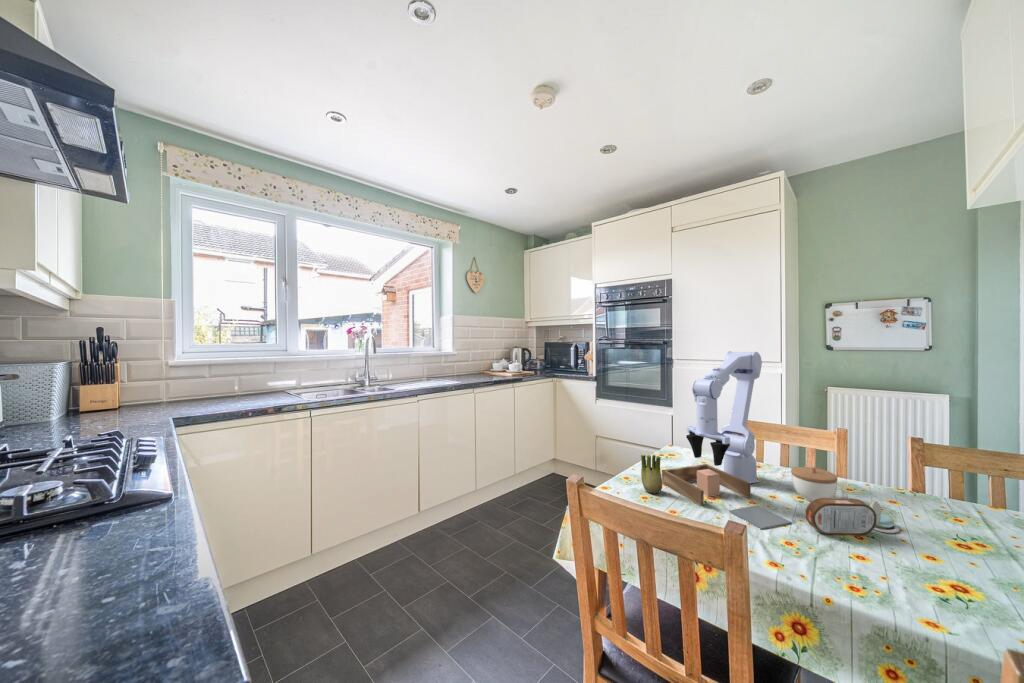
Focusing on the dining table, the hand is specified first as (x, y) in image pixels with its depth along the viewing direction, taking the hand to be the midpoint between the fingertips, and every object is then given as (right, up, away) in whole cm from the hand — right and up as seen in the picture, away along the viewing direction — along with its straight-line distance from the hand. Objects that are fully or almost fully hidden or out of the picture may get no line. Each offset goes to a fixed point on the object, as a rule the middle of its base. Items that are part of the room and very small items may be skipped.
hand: (707, 461), depth 115 cm
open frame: (+1, -10, +3) cm, 11 cm away
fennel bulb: (-16, -11, +3) cm, 20 cm away
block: (+1, -11, +2) cm, 11 cm away
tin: (+21, -11, -23) cm, 33 cm away
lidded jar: (+30, -10, -4) cm, 31 cm away
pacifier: (+33, -10, -21) cm, 40 cm away
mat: (+6, -11, -15) cm, 19 cm away
